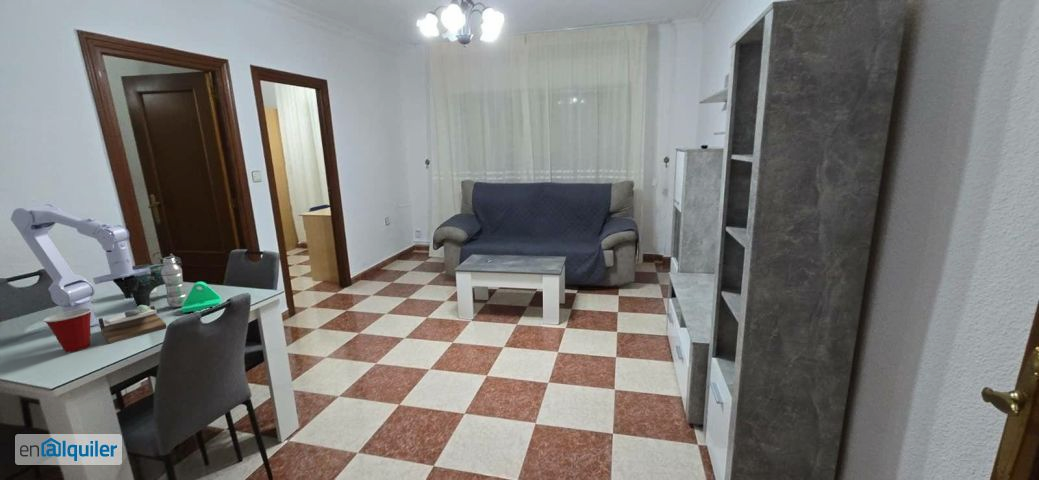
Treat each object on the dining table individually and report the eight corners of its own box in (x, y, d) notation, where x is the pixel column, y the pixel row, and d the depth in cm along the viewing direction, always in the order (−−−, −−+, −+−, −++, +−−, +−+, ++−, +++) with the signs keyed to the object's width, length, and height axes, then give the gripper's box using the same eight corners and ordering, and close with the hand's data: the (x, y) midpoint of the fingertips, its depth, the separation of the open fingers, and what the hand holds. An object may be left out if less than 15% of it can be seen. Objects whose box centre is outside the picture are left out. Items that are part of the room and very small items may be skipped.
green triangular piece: (182, 315, 160) (176, 290, 158) (185, 308, 166) (180, 284, 164) (220, 308, 166) (215, 284, 163) (222, 302, 172) (217, 279, 170)
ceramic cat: (180, 291, 187) (170, 247, 182) (192, 291, 185) (183, 248, 181) (131, 308, 168) (120, 260, 163) (144, 309, 166) (133, 260, 162)
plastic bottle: (192, 305, 170) (182, 257, 165) (172, 310, 164) (161, 261, 160) (185, 302, 173) (176, 255, 169) (165, 307, 168) (155, 259, 163)
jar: (134, 292, 186) (127, 266, 183) (158, 288, 190) (152, 263, 188) (131, 298, 179) (124, 271, 176) (155, 293, 183) (149, 267, 181)
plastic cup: (94, 337, 142) (85, 304, 139) (106, 344, 137) (97, 310, 134) (48, 351, 133) (37, 315, 130) (58, 359, 128) (48, 322, 125)
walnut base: (101, 331, 147) (97, 318, 146) (156, 317, 158) (153, 305, 157) (108, 343, 137) (105, 330, 136) (166, 328, 149) (164, 315, 147)
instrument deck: (105, 322, 147) (102, 312, 147) (149, 311, 156) (147, 302, 156) (110, 324, 137) (107, 314, 137) (157, 313, 146) (154, 303, 146)
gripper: (92, 267, 138) (102, 306, 141) (149, 258, 149) (157, 294, 152) (88, 264, 142) (98, 302, 145) (144, 255, 153) (152, 290, 156)
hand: (128, 297), depth 149 cm, fingers closed
